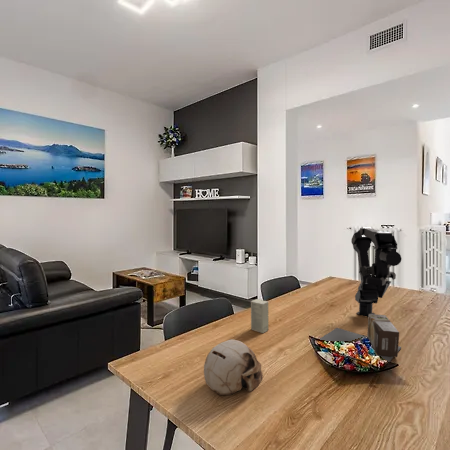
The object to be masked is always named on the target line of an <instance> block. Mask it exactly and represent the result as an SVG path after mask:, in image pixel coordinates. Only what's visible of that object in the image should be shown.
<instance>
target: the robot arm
mask: <svg viewBox="0 0 450 450" xmlns="http://www.w3.org/2000/svg"><path fill="white" fill-rule="evenodd" d="M372 243H373V246H374V247H373V250H374V263H372V264H371V265H370V257H369V250H370V249H371V244H372ZM351 244H352V247H353V250H354V251H355V253H356V254H357V260H358V268H359V269H358V273H359V276H360V283H359V285H358V287H357V291H356V293H355V295H354V300H355V301H356V303H358V305H359V307H358V311H357V312H356V313H355V314H356V315H358V316H362V317H366V318H368V317H369V314H376V313H375V312H373V304H378V302H379V298H380V299H383V297H384V295H385V294H386V292H387V290H388V288H389V286H390V284H391V283H392V281H391V280H389V279H392V280H396V279H397V278H396V276H397V275H396V273H395V272H394V271H390V268H391V267H397V266H398V265H400V264H401V261H402V255H401V254H400V253H399V252H397V250H398V243H397V241H396V238H395V236H394V234H393V232H391V231H380V230H378V229H375V228H373V227H372V226H361V227H360V229H359V230H357V231H356V232H354V233H353V235H352V237H351Z"/></svg>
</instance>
